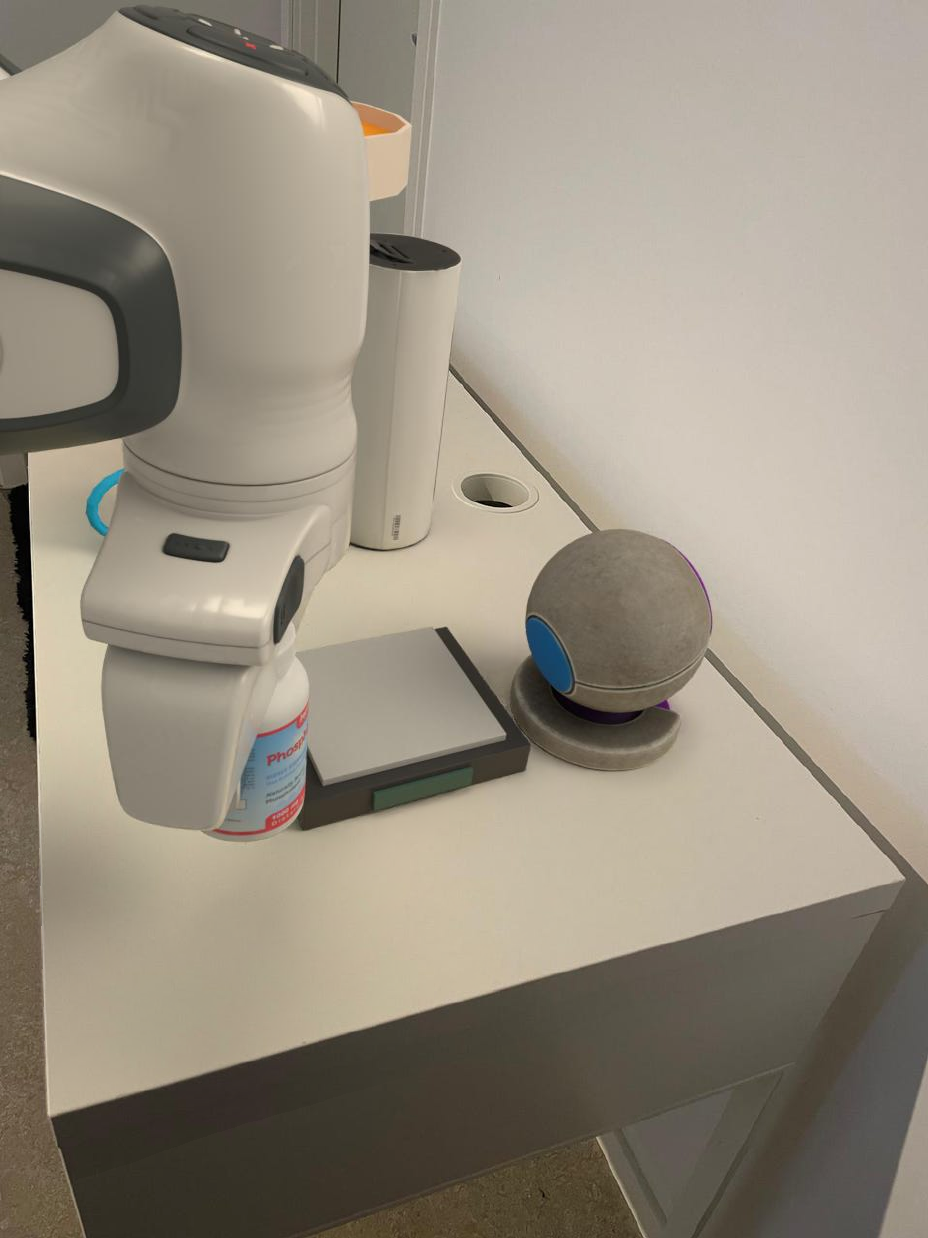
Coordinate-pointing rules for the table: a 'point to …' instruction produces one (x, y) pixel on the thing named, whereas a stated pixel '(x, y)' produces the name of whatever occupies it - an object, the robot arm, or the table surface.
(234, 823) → the pill bottle
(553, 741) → the webcam
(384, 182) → the desk lamp
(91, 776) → the table surface
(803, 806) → the table surface
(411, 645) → the scale
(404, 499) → the speaker
